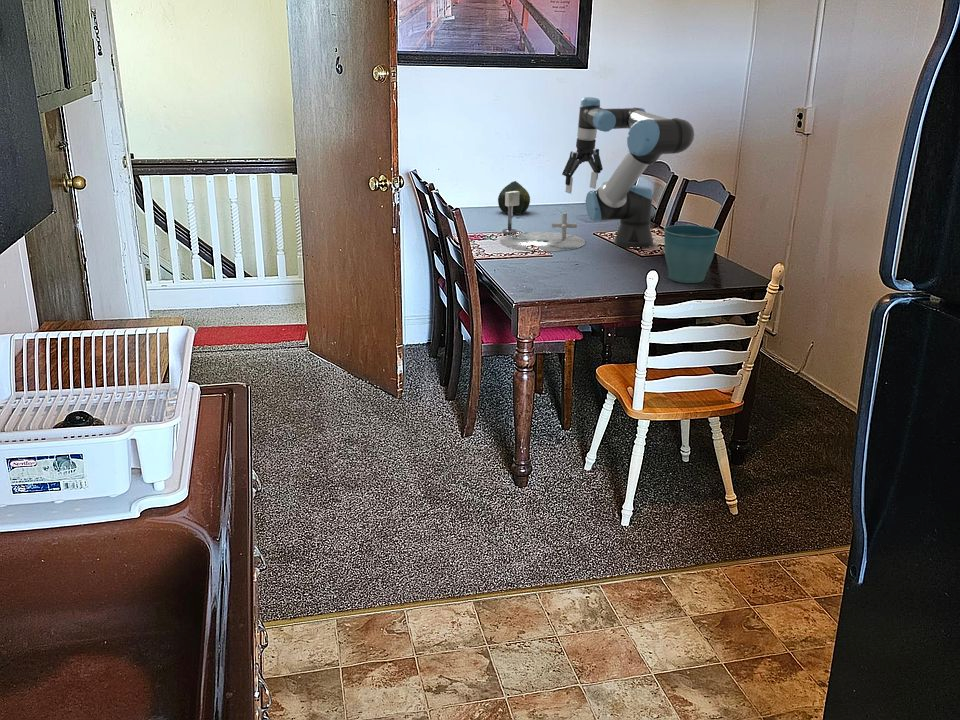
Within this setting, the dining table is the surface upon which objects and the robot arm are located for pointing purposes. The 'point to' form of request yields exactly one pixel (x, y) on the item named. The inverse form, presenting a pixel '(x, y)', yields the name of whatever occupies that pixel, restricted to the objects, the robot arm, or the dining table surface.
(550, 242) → the disc
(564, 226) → the pipe connector
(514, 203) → the block topped stand
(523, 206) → the squash
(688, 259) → the flower pot
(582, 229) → the dining table surface
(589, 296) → the dining table surface
